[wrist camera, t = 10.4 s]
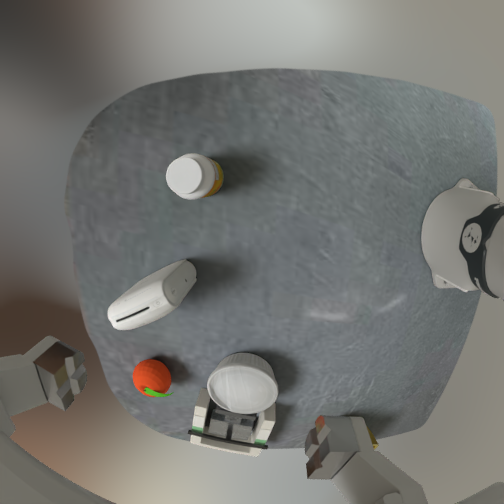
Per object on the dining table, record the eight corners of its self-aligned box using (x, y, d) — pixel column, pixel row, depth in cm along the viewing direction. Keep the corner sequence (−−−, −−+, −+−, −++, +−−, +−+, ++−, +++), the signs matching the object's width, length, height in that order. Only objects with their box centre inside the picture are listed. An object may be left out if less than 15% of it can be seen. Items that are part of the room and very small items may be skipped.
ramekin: (200, 362, 44) (192, 381, 39) (254, 335, 42) (252, 354, 37) (237, 401, 46) (233, 421, 41) (289, 380, 44) (290, 400, 38)
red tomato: (185, 363, 44) (173, 389, 37) (177, 387, 46) (166, 413, 39) (144, 345, 44) (127, 368, 37) (139, 371, 45) (124, 394, 39)
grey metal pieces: (278, 402, 45) (279, 425, 39) (264, 433, 47) (264, 454, 42) (198, 385, 45) (191, 407, 39) (193, 418, 47) (187, 439, 42)
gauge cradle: (275, 402, 45) (275, 422, 40) (259, 439, 48) (258, 457, 43) (201, 387, 45) (195, 406, 40) (195, 426, 48) (190, 443, 43)
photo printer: (188, 253, 39) (156, 283, 27) (202, 279, 40) (176, 317, 28) (136, 279, 41) (95, 312, 29) (149, 302, 41) (113, 341, 30)
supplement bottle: (192, 201, 37) (167, 208, 28) (181, 165, 36) (154, 160, 27) (228, 190, 36) (215, 192, 27) (218, 153, 35) (200, 143, 26)
